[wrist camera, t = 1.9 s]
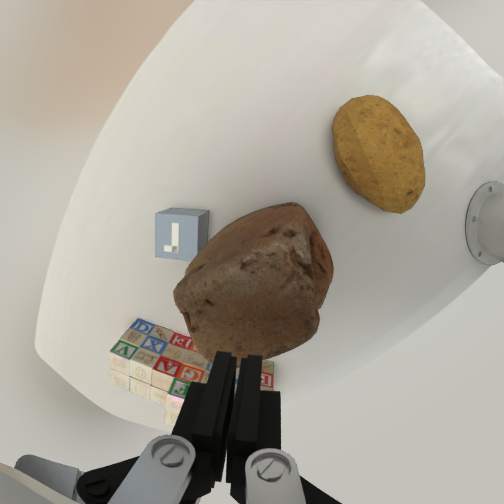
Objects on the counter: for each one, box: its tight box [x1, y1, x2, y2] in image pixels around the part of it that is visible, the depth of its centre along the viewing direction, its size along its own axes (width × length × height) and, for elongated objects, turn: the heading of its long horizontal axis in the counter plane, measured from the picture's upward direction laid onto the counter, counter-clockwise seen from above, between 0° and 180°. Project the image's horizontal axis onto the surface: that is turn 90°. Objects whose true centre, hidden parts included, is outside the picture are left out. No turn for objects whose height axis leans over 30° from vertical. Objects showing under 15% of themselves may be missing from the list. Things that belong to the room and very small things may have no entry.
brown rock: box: [173, 202, 334, 368], centre depth 25 cm, size 11×8×20 cm
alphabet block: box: [155, 208, 209, 261], centre depth 33 cm, size 5×5×5 cm
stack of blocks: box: [109, 319, 274, 426], centre depth 34 cm, size 21×6×12 cm, turn 74°
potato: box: [332, 95, 425, 214], centre depth 27 cm, size 10×13×9 cm
